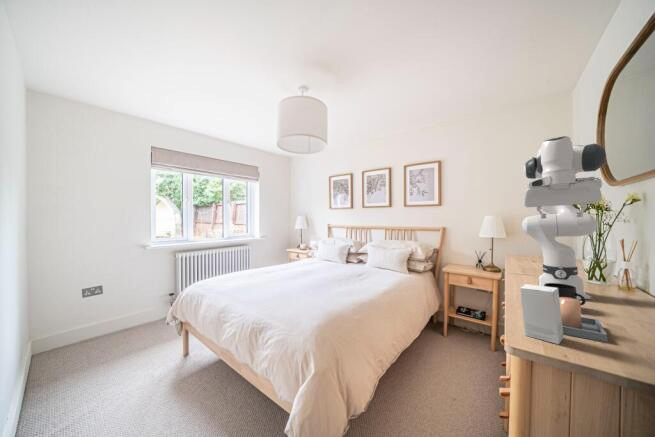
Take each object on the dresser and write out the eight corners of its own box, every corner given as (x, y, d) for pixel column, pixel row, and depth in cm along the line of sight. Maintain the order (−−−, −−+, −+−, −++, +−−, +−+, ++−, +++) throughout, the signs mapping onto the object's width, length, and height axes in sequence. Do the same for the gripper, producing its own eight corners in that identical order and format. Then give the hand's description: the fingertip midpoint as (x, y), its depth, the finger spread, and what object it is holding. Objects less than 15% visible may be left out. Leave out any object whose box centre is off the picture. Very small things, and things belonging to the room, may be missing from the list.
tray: (542, 317, 88) (541, 310, 88) (598, 326, 79) (598, 319, 79) (542, 330, 78) (542, 322, 78) (607, 343, 69) (607, 334, 69)
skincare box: (564, 338, 72) (560, 287, 73) (558, 345, 68) (555, 291, 69) (529, 329, 79) (526, 283, 79) (522, 335, 75) (519, 286, 76)
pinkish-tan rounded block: (559, 322, 82) (557, 296, 83) (581, 325, 79) (579, 298, 79) (560, 327, 78) (558, 299, 79) (583, 331, 75) (581, 302, 75)
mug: (581, 315, 88) (579, 291, 88) (541, 306, 99) (539, 285, 99) (591, 310, 92) (589, 287, 93) (551, 302, 103) (549, 281, 103)
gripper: (599, 176, 82) (602, 216, 82) (523, 185, 96) (525, 219, 95) (603, 174, 78) (606, 216, 77) (522, 183, 91) (525, 219, 91)
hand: (561, 217), depth 86 cm, fingers open, 8 cm apart
